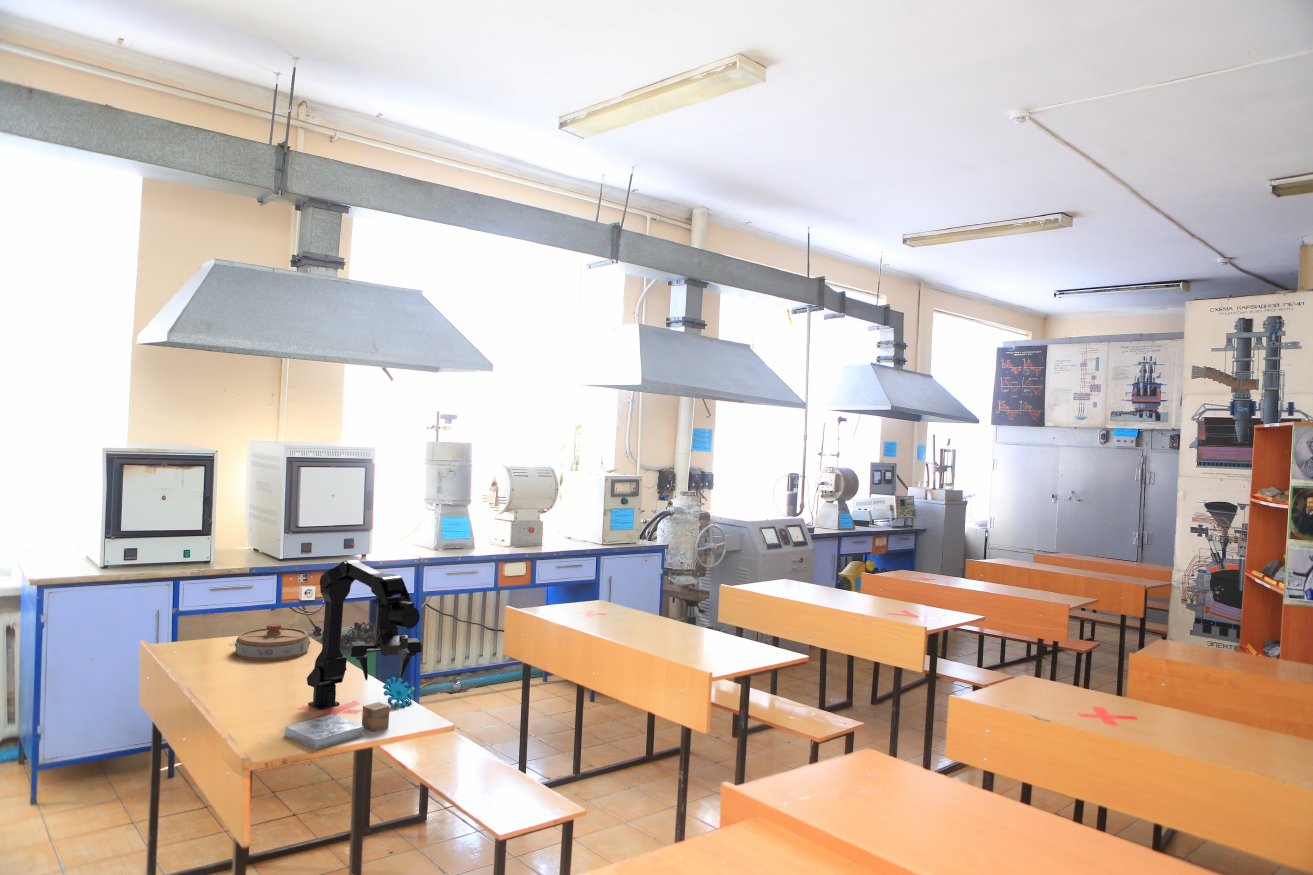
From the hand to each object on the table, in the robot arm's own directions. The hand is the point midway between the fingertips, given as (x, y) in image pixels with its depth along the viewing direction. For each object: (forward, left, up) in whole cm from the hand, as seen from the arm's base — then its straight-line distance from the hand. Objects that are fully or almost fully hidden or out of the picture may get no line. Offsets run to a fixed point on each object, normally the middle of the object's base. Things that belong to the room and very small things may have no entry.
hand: (383, 678), depth 231 cm
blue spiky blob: (-14, +16, -14) cm, 25 cm away
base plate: (-6, -14, -14) cm, 20 cm away
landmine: (-91, +20, -14) cm, 94 cm away
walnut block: (-2, -1, -14) cm, 14 cm away
